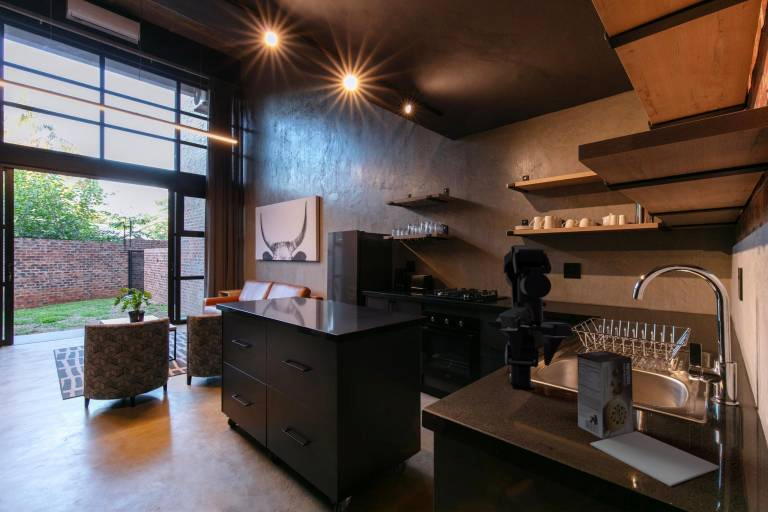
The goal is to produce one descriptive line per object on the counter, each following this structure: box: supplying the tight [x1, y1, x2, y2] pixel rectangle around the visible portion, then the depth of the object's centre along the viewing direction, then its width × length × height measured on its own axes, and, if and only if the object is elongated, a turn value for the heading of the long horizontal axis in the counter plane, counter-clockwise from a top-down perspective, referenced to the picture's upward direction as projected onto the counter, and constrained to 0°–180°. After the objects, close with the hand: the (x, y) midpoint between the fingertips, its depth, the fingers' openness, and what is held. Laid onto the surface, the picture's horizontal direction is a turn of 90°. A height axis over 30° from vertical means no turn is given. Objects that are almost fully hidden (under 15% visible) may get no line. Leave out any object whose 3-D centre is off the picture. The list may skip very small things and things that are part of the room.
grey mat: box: [589, 430, 720, 487], centre depth 66 cm, size 14×14×1 cm
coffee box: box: [576, 350, 634, 440], centre depth 76 cm, size 9×6×16 cm
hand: (531, 361), depth 86 cm, fingers open, 9 cm apart
